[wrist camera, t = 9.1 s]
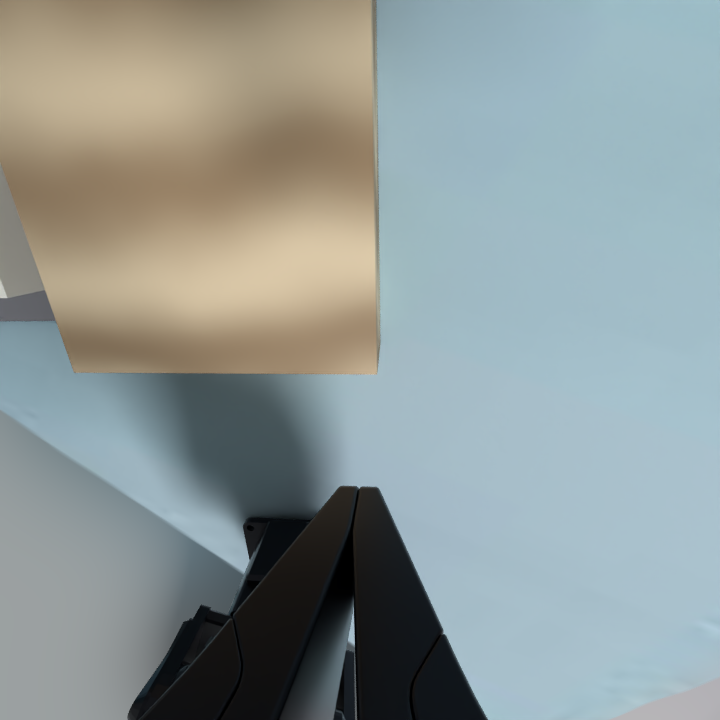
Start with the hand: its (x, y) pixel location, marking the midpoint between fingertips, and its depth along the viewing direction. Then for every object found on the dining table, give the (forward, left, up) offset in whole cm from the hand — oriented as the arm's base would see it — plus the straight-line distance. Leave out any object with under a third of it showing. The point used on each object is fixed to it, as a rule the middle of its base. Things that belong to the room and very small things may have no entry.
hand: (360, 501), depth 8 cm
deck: (+7, +7, -12) cm, 16 cm away
